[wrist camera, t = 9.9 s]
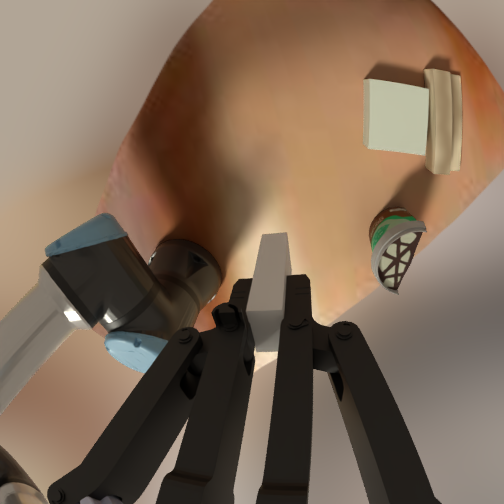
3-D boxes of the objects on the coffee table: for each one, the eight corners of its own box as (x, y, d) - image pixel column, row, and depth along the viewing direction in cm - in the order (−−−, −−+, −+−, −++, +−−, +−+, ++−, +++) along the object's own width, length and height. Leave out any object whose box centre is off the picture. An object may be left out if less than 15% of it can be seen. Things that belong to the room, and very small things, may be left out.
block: (362, 143, 37) (368, 148, 34) (362, 79, 32) (369, 78, 29) (415, 149, 36) (425, 155, 33) (418, 88, 31) (428, 89, 27)
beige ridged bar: (425, 167, 37) (433, 173, 34) (423, 69, 28) (432, 68, 25) (456, 169, 35) (466, 176, 32) (457, 75, 27) (468, 76, 24)
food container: (373, 191, 41) (390, 219, 33) (406, 199, 40) (428, 228, 32) (353, 255, 48) (362, 292, 39) (384, 260, 47) (397, 297, 39)
